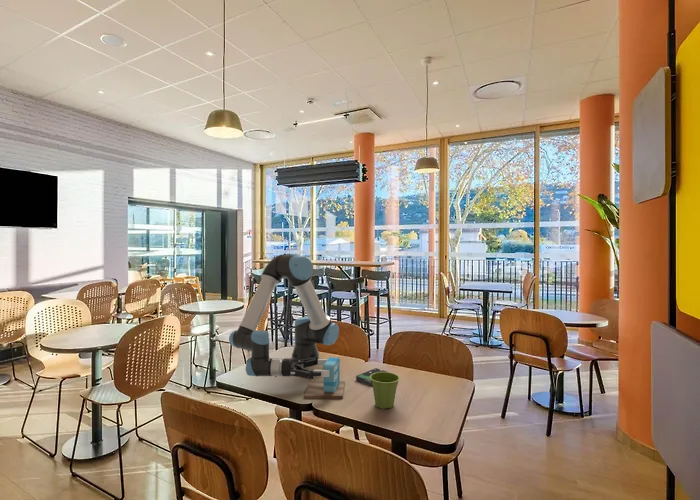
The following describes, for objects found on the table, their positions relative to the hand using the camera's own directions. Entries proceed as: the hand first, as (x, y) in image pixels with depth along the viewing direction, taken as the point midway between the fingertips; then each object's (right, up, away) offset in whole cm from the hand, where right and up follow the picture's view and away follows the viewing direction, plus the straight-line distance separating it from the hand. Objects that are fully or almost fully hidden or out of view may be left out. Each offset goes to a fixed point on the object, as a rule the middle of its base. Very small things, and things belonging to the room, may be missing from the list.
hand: (330, 367), depth 155 cm
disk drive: (+20, -11, +14) cm, 26 cm away
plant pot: (+22, -11, -14) cm, 28 cm away
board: (-2, -10, 0) cm, 10 cm away
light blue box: (0, -9, 0) cm, 9 cm away
